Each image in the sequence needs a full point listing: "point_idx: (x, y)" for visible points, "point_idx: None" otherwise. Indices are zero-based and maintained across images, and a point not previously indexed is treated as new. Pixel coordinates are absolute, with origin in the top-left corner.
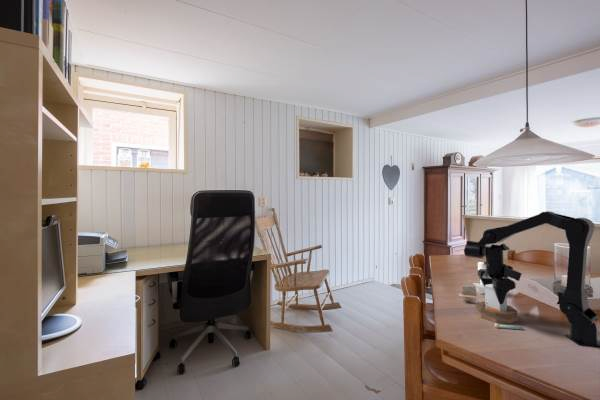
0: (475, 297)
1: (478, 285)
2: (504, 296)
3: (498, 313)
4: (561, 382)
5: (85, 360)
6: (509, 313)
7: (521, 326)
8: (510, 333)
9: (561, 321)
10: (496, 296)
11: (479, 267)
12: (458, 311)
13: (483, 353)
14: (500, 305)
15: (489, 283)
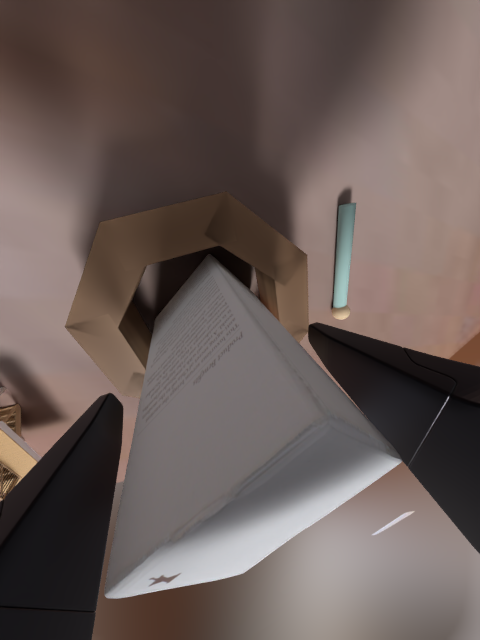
0: (9, 430)
1: None
2: (398, 355)
3: (308, 318)
4: None
5: (411, 513)
6: (299, 264)
7: (350, 211)
8: (379, 268)
9: None
10: (352, 398)
11: None
12: None
13: (464, 337)
14: (280, 324)
15: (36, 613)
